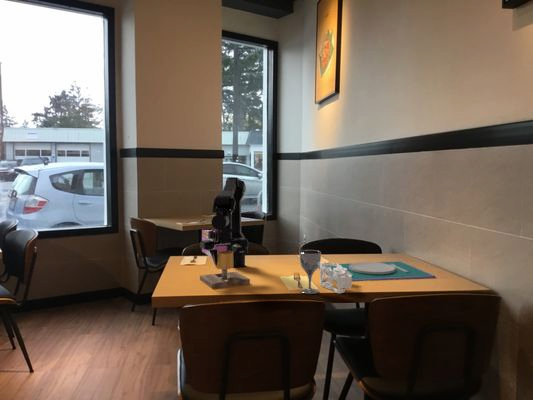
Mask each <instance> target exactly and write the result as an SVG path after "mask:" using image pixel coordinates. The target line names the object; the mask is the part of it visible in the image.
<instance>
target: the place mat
mask: <svg viewBox="0 0 533 400" xmlns="http://www.w3.org/2000/svg"><path fill="white" fill-rule="evenodd" d="M338 264H339V265H341V266H342V267H343V268H347V274H349V275H352V282H361V281H362V282H365V281H364V280H370V281H387V280H388V281H391V280H393V279H395V280H413V279H429V278H430V279H433V278H435V279H436V275H435V274H432V273H430V272H427V271H425V270H423V269H420V268H418V267H416V266H413V265H410V264H408V263H406V262H404V261H402V260H401V261H400V260H397V261H396V260H395V261H376V262H375V261H374V262H373V261H360V262H351V263H350V262H346V263H338ZM323 267H324V266H323ZM325 267H331V269H332V271H333V268H336V267H337V266H327V265H326V266H325ZM318 269H319V270H320V265H319V267H318ZM325 275H327V276H328V277H329V273H327V272H325ZM332 278H333V274H332Z"/></svg>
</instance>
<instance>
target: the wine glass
mask: <svg viewBox="0 0 533 400" xmlns="http://www.w3.org/2000/svg"><path fill="white" fill-rule="evenodd" d="M321 260H322V251H320V250H316V249H302V250H300V251H299V263H300V266H301V268H302V269H303V271H304V272H305V273H306V274H307V279H308V287H307V288H302V289H300V292H301V294H307V295H313V294H319V293H320V291H319V289H316V288H312V277H313V275H314V273H315V272H316V271H317V270H318V269H319V268H318V267H319V265H320V264H321Z"/></svg>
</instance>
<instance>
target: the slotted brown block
mask: <svg viewBox="0 0 533 400" xmlns="http://www.w3.org/2000/svg"><path fill="white" fill-rule="evenodd" d="M199 280H200V281H201V282H202V283H204V285H206V286H208V287H209V288H210V289H212V290H213V289H218V288H219V289H220V288H229V287H238V286H244V285H245V286H246V285H250V284H251V279H250V278H249V277H247V276H245V275H243V274H242V273H239V271H229V272H228V269H221V273H212V274H203V275H201V274H200V275H199Z"/></svg>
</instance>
